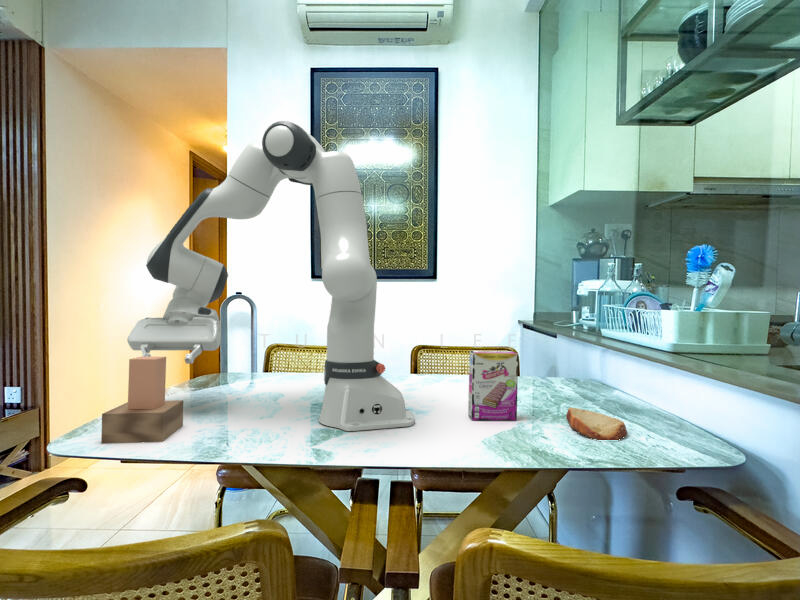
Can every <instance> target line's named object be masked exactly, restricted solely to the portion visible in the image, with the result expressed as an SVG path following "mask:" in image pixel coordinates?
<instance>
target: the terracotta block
mask: <svg viewBox="0 0 800 600" xmlns="http://www.w3.org/2000/svg"><path fill="white" fill-rule="evenodd" d="M166 374H167V356H151V357H142V356H137V357H133V358H130V359H129V360H128V386H127V387H128V388H127V389H128V391H127V394H128V395H127V402H128V409H155V408H157V407H159V406H161V405H163V404H165V401H166Z"/></svg>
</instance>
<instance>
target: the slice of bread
mask: <svg viewBox="0 0 800 600" xmlns="http://www.w3.org/2000/svg"><path fill="white" fill-rule="evenodd" d="M566 418H567V419H566V421H567V420H568V421H567V422H568V424H569V426H570V427H571V429H572V430H573V431H576V433H578V432H579V433H578V434H580V433H581V435H582V436H584V437H585V436H586V437H585V438H587V437H588V439H590V438H592V439H591V440H593V439H597V440H619V439H620V440H622V439H624V438H623V437H625V436H626V437H627V436H628V431H627V427H626V424H625V423H624V421H622V420H620V419H619V418H615V417H611V416H609V415H605V414H603V413H599V412H595V411H592V410H588V409H587V410H586V409H582V408H576V407H569V408H568V409H567V412H566ZM626 437H625V438H626ZM621 438H622V439H621ZM597 440H596V441H597Z"/></svg>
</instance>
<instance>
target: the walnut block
mask: <svg viewBox="0 0 800 600" xmlns="http://www.w3.org/2000/svg"><path fill="white" fill-rule="evenodd" d="M182 426H183V427H184V399H182V400H165V404H163V405H161V406H159V407H157V408H155V409H128V401H127V402H125V403H123V404H121V405H118V406H116V407H114V408H111V409H110V410H107V411H105V412H104V413H101V439H100V441H101V442H100V443H101V445H104V444H105V445H106V444H109V445H110V444H129V443H130V444H137V443H138V444H139V443H142V442H144V443H163V442H164V441H166V440H167V439H169V438H170V437H171V436H172V435H174V434H175V433H176V432H177V431H179V430H180V429H182V428H183V427H182Z"/></svg>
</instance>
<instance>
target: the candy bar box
mask: <svg viewBox="0 0 800 600" xmlns="http://www.w3.org/2000/svg"><path fill="white" fill-rule="evenodd" d="M468 359H469V363H468V364H469V365H468V401H467V403H468V406H467V407H468V409H467V410H468V411H467V414H468V417H469V418H470V420H472V421H517V419H518V418H517V417H518V415H517V414H518V381H519V378H518V375H519V352H518V353H517V352H516V351H511V350H469V358H468Z"/></svg>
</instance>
